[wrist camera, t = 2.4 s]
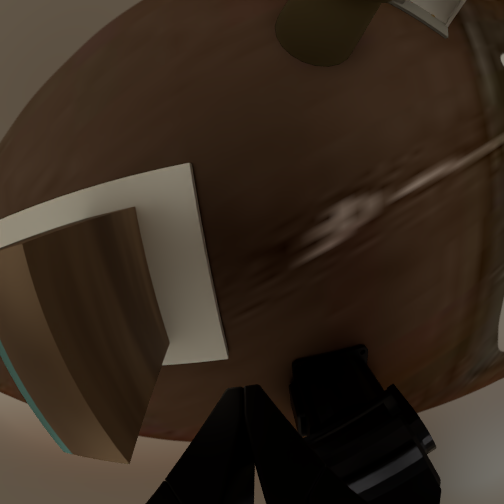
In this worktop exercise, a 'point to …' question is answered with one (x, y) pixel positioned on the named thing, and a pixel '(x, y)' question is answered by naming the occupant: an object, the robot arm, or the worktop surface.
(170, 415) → the worktop surface
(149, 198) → the board
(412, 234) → the worktop surface
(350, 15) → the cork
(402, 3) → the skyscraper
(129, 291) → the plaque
